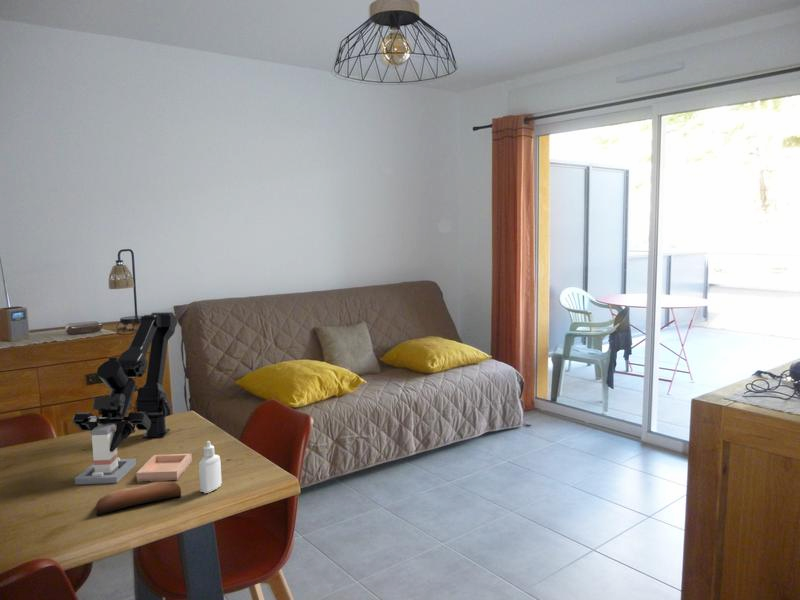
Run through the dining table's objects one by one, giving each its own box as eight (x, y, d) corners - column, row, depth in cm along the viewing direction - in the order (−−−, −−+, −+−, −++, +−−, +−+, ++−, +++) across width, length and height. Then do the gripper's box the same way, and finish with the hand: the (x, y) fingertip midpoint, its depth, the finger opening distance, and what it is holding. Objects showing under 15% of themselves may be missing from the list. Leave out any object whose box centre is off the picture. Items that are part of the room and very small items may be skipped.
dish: (154, 463, 159) (153, 454, 159) (191, 462, 159) (191, 453, 159) (137, 481, 147) (136, 472, 147) (177, 480, 147) (176, 471, 147)
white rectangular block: (102, 470, 155) (99, 424, 153) (118, 469, 155) (115, 424, 153) (94, 477, 150) (90, 430, 149) (111, 477, 150) (107, 430, 149)
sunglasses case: (176, 484, 145) (177, 466, 141) (181, 508, 140) (182, 490, 136) (94, 502, 136) (93, 483, 133) (96, 527, 131) (95, 509, 128)
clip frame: (97, 465, 158) (97, 457, 158) (136, 463, 159) (135, 455, 159) (75, 484, 146) (74, 475, 146) (116, 482, 147) (116, 474, 146)
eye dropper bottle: (225, 488, 142) (223, 441, 141) (202, 495, 139) (199, 446, 137) (219, 483, 145) (216, 436, 144) (196, 489, 142) (193, 441, 141)
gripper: (73, 383, 154) (51, 438, 144) (143, 382, 154) (125, 437, 144) (91, 403, 163) (72, 456, 153) (158, 402, 162) (142, 456, 153)
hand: (102, 451), depth 150 cm, fingers closed on white rectangular block, 4 cm apart
